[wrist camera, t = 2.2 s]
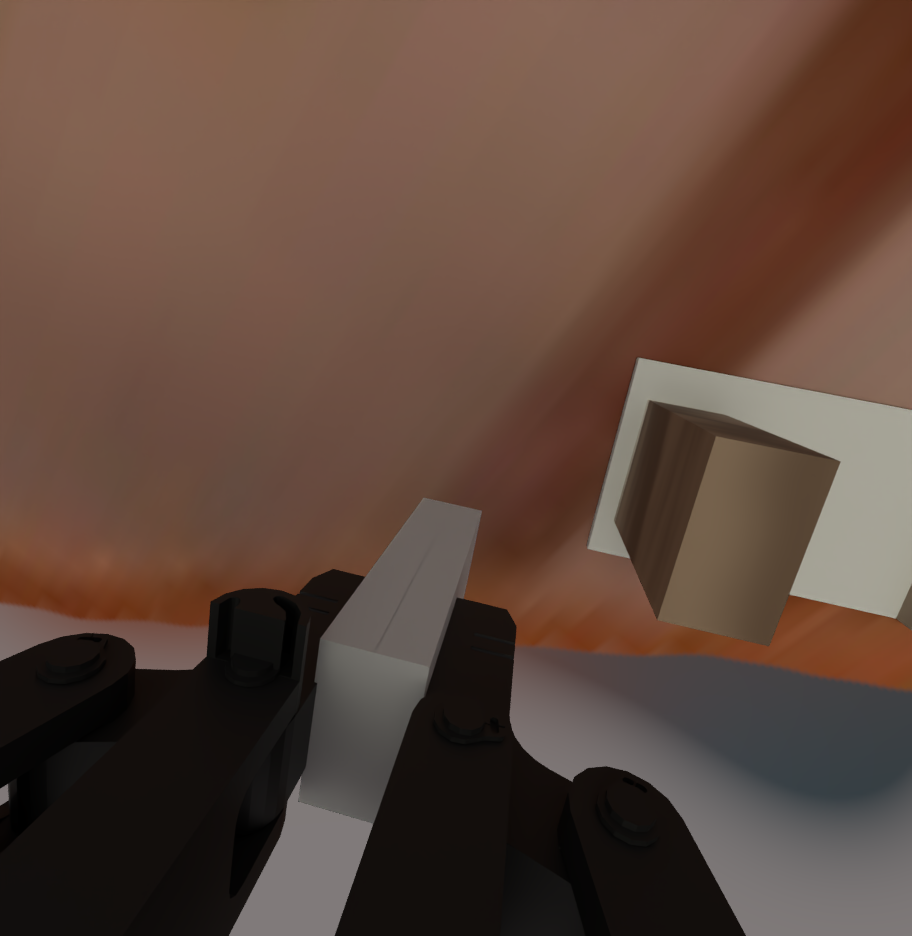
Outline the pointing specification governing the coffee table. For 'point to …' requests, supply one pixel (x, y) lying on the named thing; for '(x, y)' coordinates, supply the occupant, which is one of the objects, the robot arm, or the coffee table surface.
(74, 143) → the coffee table surface
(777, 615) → the block
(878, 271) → the coffee table surface
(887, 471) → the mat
